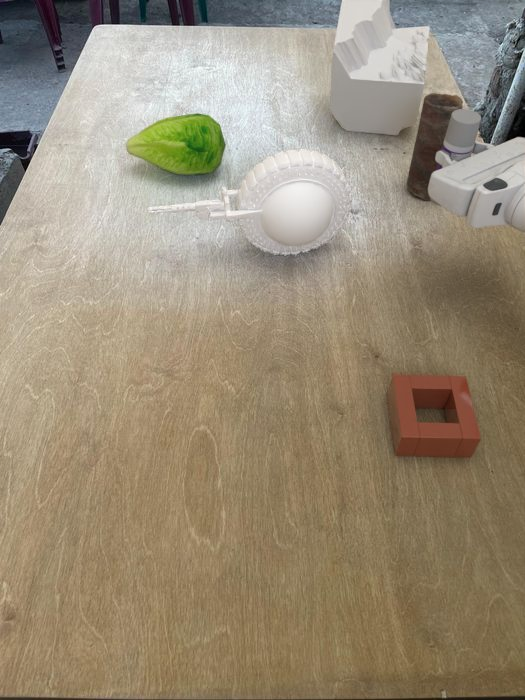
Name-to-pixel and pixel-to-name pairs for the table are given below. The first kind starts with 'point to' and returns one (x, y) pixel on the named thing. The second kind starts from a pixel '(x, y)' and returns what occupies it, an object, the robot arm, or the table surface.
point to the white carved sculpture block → (376, 69)
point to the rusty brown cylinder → (430, 140)
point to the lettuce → (181, 144)
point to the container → (461, 135)
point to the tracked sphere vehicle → (283, 203)
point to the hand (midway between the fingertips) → (452, 148)
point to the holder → (432, 437)
